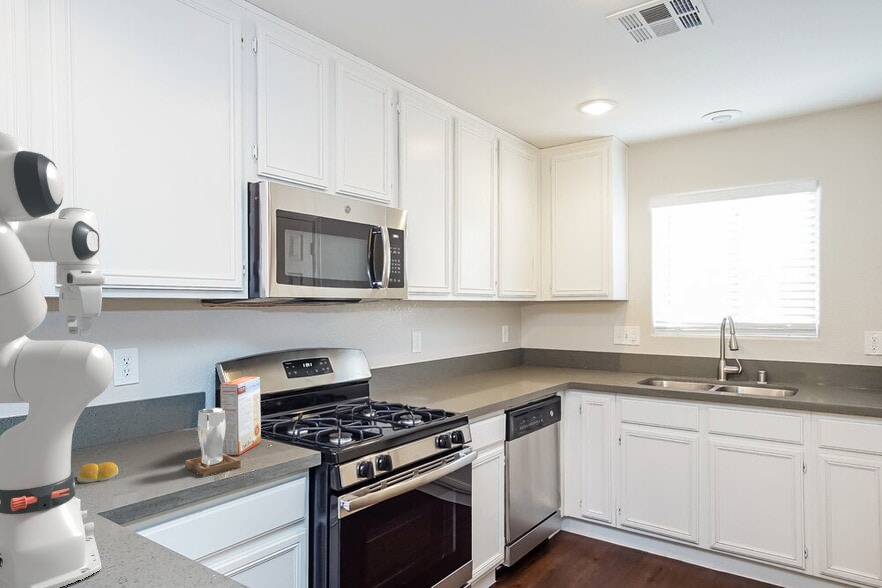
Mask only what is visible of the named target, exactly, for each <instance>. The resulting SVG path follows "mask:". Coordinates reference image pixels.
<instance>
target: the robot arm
mask: <svg viewBox="0 0 882 588" xmlns="http://www.w3.org/2000/svg"><path fill="white" fill-rule="evenodd" d="M64 189H65V188H64V182H63V178H62V175H61V173H60V171H59V170H58V168H57V165H56V164H55V163H54V161H52V159H50V158H49V157H47V156H45V154H42V153H40V152H34V151H31V149H30V148H28V147H27V146H26V145H24V144H23V142H21V141H19V139H17V138H15V137H14V136H12V135H10V134H7V133H4V132H2V131H1V132H0V404H25V403H27V404H28V413H27V416H26V417H25V420H23V421H21V422H19V423H17V424H15V425H14V426H12V427H10V428H8V429H7V430H5V431H3V432H2V434H1V435H0V588H58V587H61V586H64V585H67V584H69V583H72V582H74V581H77V580H80V579H83V578H85V577H88V576H89V575H91V574H93V573H95V572H97V571H99V570H100V569H101V568H103V567H102V562H101V557H100V553H99V551H98V546H97V543H96V538H95V536H94V535H95V531H96V530H95V522H93V521H90V522H87V523H84V521H83V520H84V519H87V518H88V510H87V509H86V510H82V509H81V499H79V498H78V497H76V496H75V495H76V490H75V487H76V482H75V478H74V473H73V472H72V471H71V470H72V469H71V468H72V467H71V466H72V465H71V461H72V443H73V434H74V430H75V427H76V425H77V421H78V420H79V417H80V416H81V414H82V413H83V412H84V410H85V409H86V407H87V406H88V405H89V404H90V403H91V402H92V401H93V400H95V399H96V398H97V397H99V396H101V394H103V393H104V392H105V391H106V390H107V388H108V387H109V386H110V384H111V382H112V380H113V376H114V372H115V365H114V360H113V357H112V355H111V353H110V352H109V351H108V350H107V348H106V347H105V346H104V345H102V344H99V343H93V342H88V341H84V340H76V339H65V340H64V339H62V340H61V339H59V340H58V339H57V340H56V339H55V340H54V339H52V340H49V339H47V340H45V339H41V340H37V339H36V340H35V339H31V338H29V337H27V336H26V335H28V334H30V333H31V332H33V331H35V330H36V329H38V328H39V327H40V325H42V323H43V322H44V320H45V318H46V316H47V313H48V303H47V301H46V298H45V295H44V293H43V290H42V287H41V284H40V282H39V279H38V276H37V274H36V271H35V269H34V267H33V264H32V262H34V263H35V262H36V263H37V262H39V263H41V262H42V263H48V262H49V263H55V265H56V266H55V270H56V271H55V272H56V273H55V275H56V278H55V279H56V281H55V282H56V285H60V287H59V294H58V311H59V314H60V315H62V316H65V321H66V325H67V333H68V334H69V335H77V334H79V336H80V337H90V336H91V328H92V327H91V326H92V324H93V318H97V317H99V316H100V315H101V311H102V305H103V304H102V302H103V301H102V300H103V288H102V285H105V283H106V282H105V279H106V278H105V275H104V274H103V273H102V272H101V262H100V260H99V252H100V248H101V239H100V237H101V236H100V229H99V221H98V218H97V217H98V216H97V214H96V213H95V212H93V211H91V210H89V209H84V208H82V207H81V208H80V207H66V208H62V209H61V210H60V211H59V213H58V218H42V217H44V216H45V217H46V216H48V215H51V214H53V213H56V212H57V210H58V209H59V208H60V207H61V206H62V204H63V199H64V197H63V195H64ZM78 318H79V319H80V328H79V326H78ZM101 570H102V569H101ZM101 570H100V571H101ZM100 571H99V572H100ZM97 573H98V572H97ZM95 574H96V573H95ZM88 578H89V577H88ZM83 580H84V579H83Z"/></svg>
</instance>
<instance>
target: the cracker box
mask: <svg viewBox="0 0 882 588" xmlns="http://www.w3.org/2000/svg"><path fill="white" fill-rule="evenodd" d="M219 389H220V390H219V391H220V395H219V396H220V408H224V409H225V418H226V431H225V438H224V444H223V453H224V454H226V455H229V456H241V455H243V454H245V453H246V452H247V451H249V450H251V449H252V448H254V447H256V446H257V445H259V444H261V442H262V434H261V431H262V430H261V429H262V428H261V427H262V425H261V423H262V421H261V420H262V419H261V418H262V417H261V377H260V376H242V377H239V378H235V379H232V380H230V381H227V382H224V383H221V384H220V386H219Z"/></svg>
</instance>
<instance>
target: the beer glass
mask: <svg viewBox="0 0 882 588" xmlns="http://www.w3.org/2000/svg"><path fill="white" fill-rule="evenodd" d="M225 431H226V418H225V409H224V408H221V407H209V408H208V407H207V408H204V409H203V408H202V409H200V410H198V418H197V433H198V441H199V445H200V451H201V456H200V457H201V463H200V466H203V467H205V468H207V467H211V466H215V465H220V464H224V459H223V444H224V438H225Z"/></svg>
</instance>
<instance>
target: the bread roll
mask: <svg viewBox="0 0 882 588" xmlns="http://www.w3.org/2000/svg"><path fill="white" fill-rule="evenodd" d="M118 474H119V467H118V465H117V464H116V463H115V462H112V461H106V462H100V463H98V464H96V463H86V464H84V465H82V466H81V467H80V468H79V469H78V471H77V477H76V478H77V479H76V481H77V483H78V482H79V483H87V484H89V483H95V482H98V481H99V482H103V481H107V480H108V481H109V480H112V479H113V478H114V477H116V476H118Z"/></svg>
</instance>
